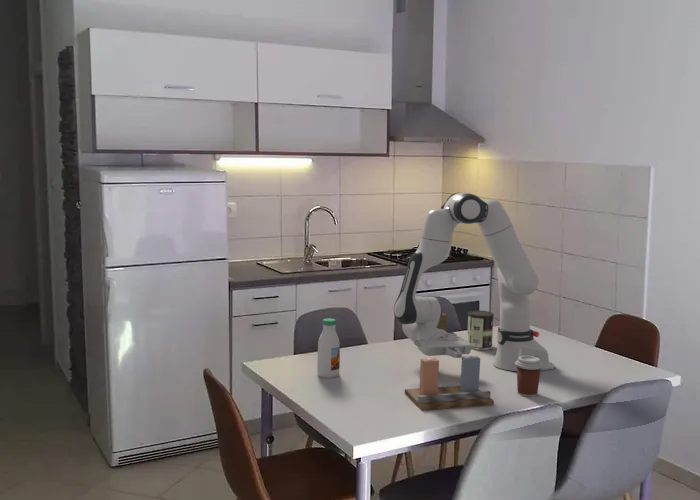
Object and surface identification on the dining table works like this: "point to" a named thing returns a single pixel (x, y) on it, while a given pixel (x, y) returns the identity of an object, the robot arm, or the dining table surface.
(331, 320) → the milk bottle
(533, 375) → the coffee cup
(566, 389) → the dining table surface
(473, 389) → the tile two
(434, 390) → the tile one
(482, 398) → the board
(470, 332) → the coffee can
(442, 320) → the pepper mill
